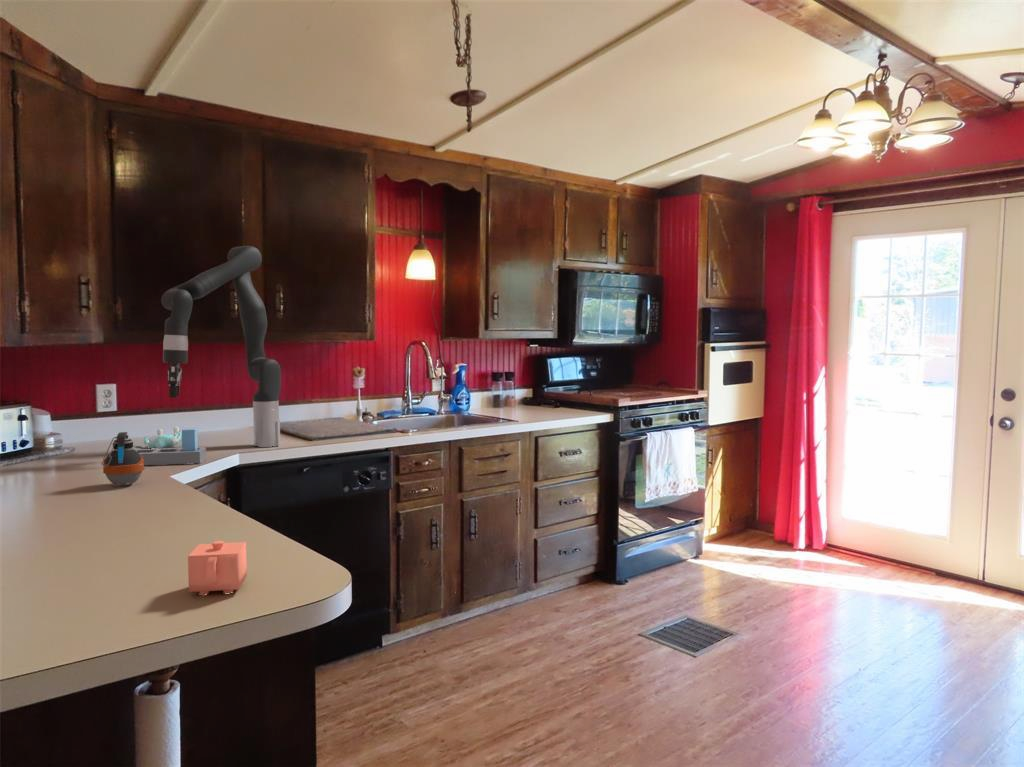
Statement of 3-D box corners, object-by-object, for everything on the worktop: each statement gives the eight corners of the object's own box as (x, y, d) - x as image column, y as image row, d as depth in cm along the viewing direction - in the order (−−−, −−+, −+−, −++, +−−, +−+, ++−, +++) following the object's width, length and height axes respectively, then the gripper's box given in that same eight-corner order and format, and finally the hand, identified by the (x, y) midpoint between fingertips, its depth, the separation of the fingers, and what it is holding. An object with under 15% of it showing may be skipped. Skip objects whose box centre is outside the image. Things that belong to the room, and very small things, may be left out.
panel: (206, 458, 243) (205, 447, 243) (200, 463, 234) (199, 451, 233) (136, 461, 238) (135, 449, 238) (126, 466, 229) (126, 454, 228)
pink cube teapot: (250, 575, 127) (249, 530, 127) (236, 600, 115) (235, 550, 115) (204, 577, 126) (202, 532, 125) (185, 603, 114) (184, 552, 114)
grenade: (106, 483, 204) (104, 431, 202) (146, 480, 207) (144, 429, 206) (99, 491, 193) (97, 436, 192) (141, 488, 197) (140, 434, 196)
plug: (198, 460, 240) (197, 428, 239) (195, 462, 236) (194, 429, 235) (185, 460, 239) (184, 428, 238) (182, 463, 235) (181, 430, 234)
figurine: (185, 425, 287) (177, 431, 258) (188, 440, 287) (179, 448, 259) (149, 430, 282) (136, 437, 254) (152, 445, 283) (139, 454, 255)
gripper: (186, 349, 234) (184, 398, 234) (189, 349, 247) (187, 396, 247) (160, 348, 231) (159, 397, 231) (165, 348, 245) (164, 395, 245)
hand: (174, 397), depth 239 cm, fingers open, 8 cm apart
